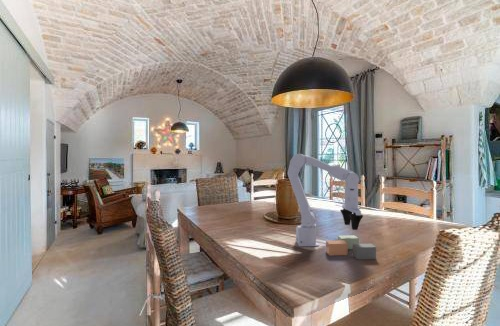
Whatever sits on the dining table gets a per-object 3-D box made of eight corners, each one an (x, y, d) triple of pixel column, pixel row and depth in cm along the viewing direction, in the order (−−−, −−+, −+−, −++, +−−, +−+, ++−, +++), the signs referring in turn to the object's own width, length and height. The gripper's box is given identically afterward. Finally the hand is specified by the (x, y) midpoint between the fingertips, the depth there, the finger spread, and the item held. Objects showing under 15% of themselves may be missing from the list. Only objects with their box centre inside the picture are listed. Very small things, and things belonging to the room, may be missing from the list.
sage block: (341, 249, 112) (341, 238, 112) (337, 246, 116) (338, 235, 116) (358, 249, 113) (358, 238, 113) (354, 245, 117) (354, 235, 117)
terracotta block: (329, 255, 106) (329, 243, 106) (326, 251, 110) (326, 240, 110) (347, 255, 106) (347, 243, 106) (343, 251, 110) (343, 240, 110)
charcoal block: (357, 259, 102) (357, 247, 101) (352, 255, 106) (352, 243, 105) (375, 258, 102) (376, 247, 102) (370, 255, 106) (371, 243, 106)
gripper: (368, 200, 107) (367, 231, 107) (352, 195, 121) (352, 222, 121) (352, 200, 106) (351, 232, 107) (338, 195, 121) (338, 222, 121)
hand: (350, 227), depth 114 cm, fingers open, 7 cm apart
